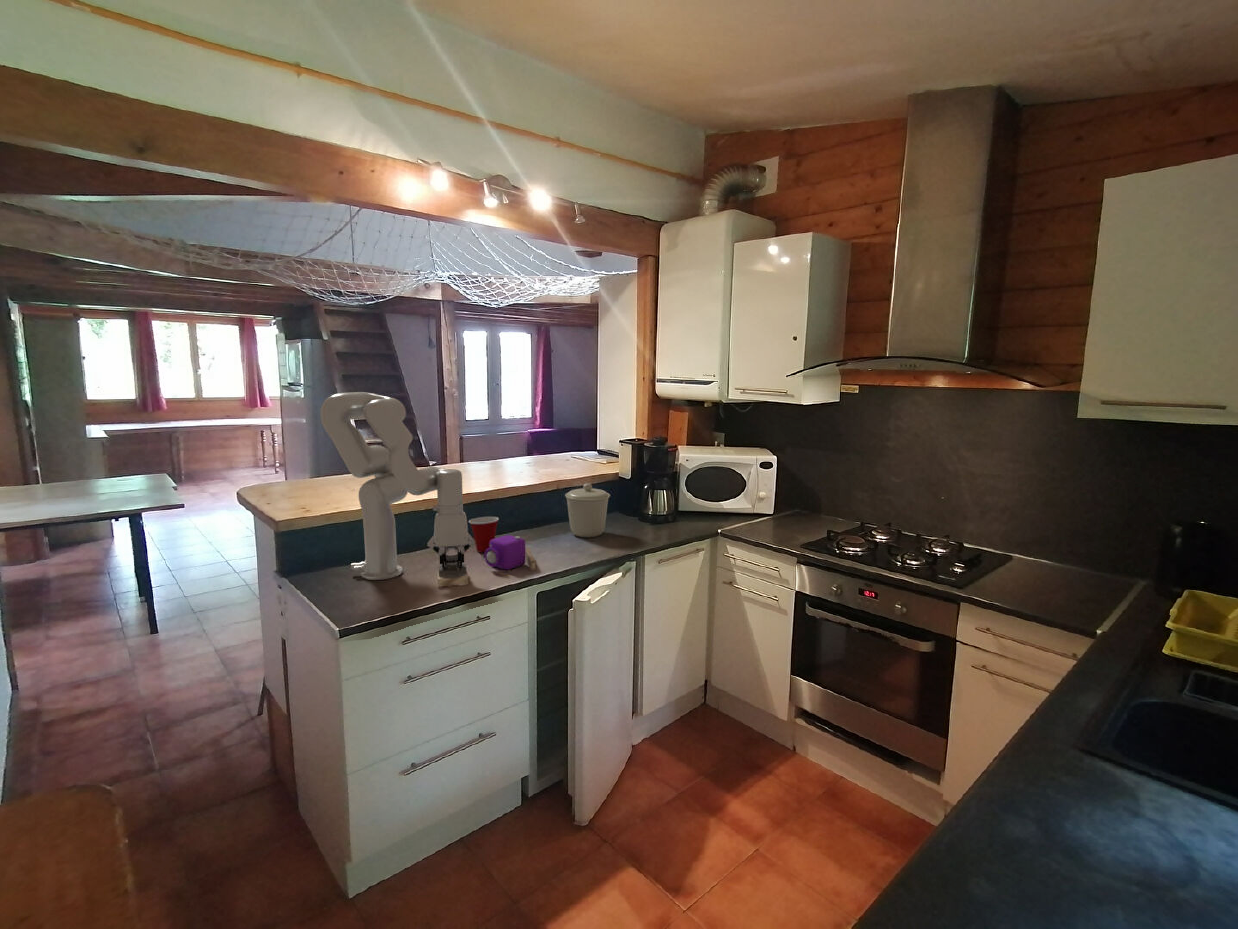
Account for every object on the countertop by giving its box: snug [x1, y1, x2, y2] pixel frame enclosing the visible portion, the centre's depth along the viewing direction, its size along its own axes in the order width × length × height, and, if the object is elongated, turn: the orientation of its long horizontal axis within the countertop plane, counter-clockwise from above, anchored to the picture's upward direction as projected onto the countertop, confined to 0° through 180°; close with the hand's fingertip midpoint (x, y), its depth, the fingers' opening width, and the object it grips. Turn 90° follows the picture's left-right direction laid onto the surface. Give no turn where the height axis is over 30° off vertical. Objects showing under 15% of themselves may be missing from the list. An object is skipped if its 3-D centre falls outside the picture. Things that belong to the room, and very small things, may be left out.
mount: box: [437, 562, 469, 588], centre depth 192 cm, size 9×9×4 cm
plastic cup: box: [468, 516, 500, 553], centre depth 224 cm, size 11×11×12 cm
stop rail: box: [525, 547, 536, 571], centre depth 210 cm, size 2×14×4 cm, turn 16°
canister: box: [564, 483, 611, 538], centre depth 246 cm, size 18×18×21 cm
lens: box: [443, 546, 460, 571], centre depth 191 cm, size 5×5×8 cm
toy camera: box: [484, 534, 526, 570], centre depth 206 cm, size 11×14×10 cm
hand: (452, 564), depth 192 cm, fingers closed on lens, 4 cm apart
